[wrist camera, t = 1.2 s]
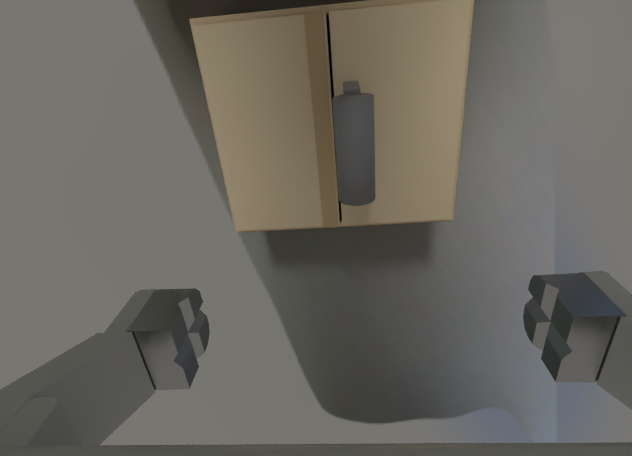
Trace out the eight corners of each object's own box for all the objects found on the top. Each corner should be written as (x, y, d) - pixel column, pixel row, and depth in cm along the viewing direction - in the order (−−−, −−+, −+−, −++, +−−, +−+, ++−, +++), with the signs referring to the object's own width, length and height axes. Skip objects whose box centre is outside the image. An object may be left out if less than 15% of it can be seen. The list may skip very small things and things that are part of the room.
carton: (221, 17, 32) (186, 18, 25) (443, -6, 31) (478, -12, 23) (253, 193, 40) (234, 236, 32) (432, 182, 38) (455, 223, 31)
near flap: (328, 11, 24) (326, 12, 19) (469, -3, 24) (506, -7, 19) (341, 223, 32) (342, 264, 27) (449, 217, 31) (472, 258, 26)
